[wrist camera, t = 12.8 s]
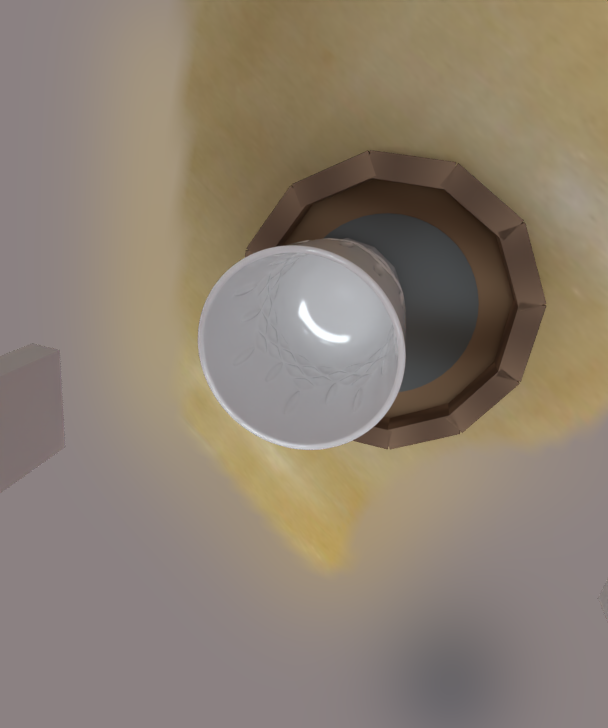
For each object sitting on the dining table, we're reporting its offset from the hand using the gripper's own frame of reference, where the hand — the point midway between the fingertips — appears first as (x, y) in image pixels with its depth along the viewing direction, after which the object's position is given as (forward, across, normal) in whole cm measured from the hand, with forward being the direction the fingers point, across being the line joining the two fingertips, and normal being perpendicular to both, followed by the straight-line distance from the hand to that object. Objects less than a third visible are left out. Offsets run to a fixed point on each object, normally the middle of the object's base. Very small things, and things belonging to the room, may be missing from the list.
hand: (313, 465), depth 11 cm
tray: (+18, 0, 0) cm, 19 cm away
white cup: (+17, -2, 0) cm, 17 cm away
